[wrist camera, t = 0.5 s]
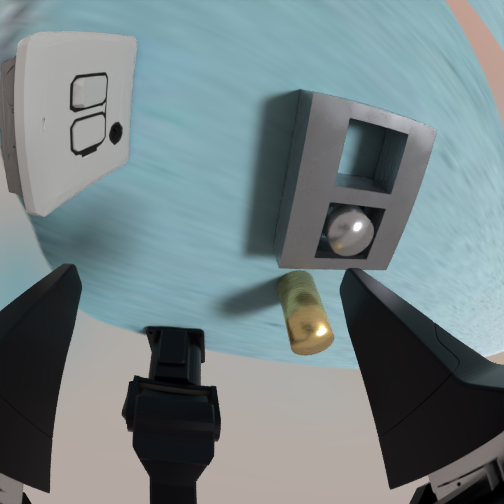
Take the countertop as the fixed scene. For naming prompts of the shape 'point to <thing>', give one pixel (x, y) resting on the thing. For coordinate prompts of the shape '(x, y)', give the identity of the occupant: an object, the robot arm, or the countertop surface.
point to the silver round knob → (347, 229)
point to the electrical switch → (65, 113)
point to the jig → (347, 183)
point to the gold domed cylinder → (304, 314)
